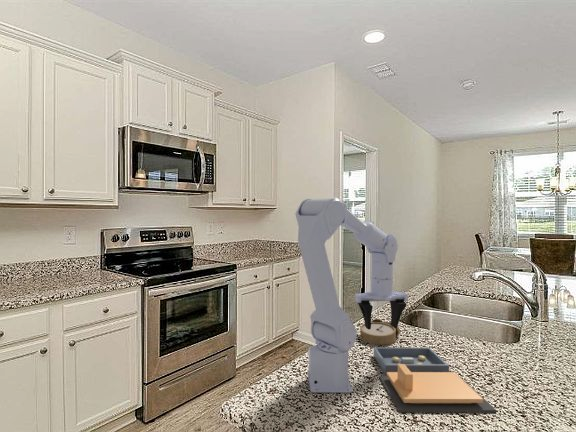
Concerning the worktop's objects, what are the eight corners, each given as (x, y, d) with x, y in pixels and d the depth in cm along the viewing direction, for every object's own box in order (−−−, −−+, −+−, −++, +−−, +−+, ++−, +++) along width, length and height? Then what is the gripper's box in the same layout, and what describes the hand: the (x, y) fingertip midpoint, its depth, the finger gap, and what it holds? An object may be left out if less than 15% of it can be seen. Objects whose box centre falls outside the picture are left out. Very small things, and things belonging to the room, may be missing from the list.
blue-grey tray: (385, 375, 83) (385, 365, 83) (373, 356, 94) (373, 347, 94) (448, 375, 84) (449, 365, 84) (429, 356, 95) (429, 347, 95)
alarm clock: (353, 330, 107) (375, 312, 118) (354, 344, 108) (376, 325, 119) (385, 339, 100) (406, 319, 111) (386, 354, 100) (406, 333, 111)
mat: (399, 412, 68) (399, 409, 68) (379, 378, 82) (379, 376, 82) (496, 412, 68) (496, 410, 68) (459, 378, 82) (460, 376, 82)
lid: (403, 406, 69) (404, 382, 69) (386, 378, 81) (386, 357, 81) (483, 406, 69) (483, 382, 69) (454, 378, 81) (454, 357, 81)
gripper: (362, 281, 85) (361, 334, 86) (414, 280, 88) (413, 331, 88) (352, 276, 92) (351, 324, 93) (401, 275, 95) (400, 322, 95)
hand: (381, 327), depth 91 cm, fingers open, 7 cm apart
